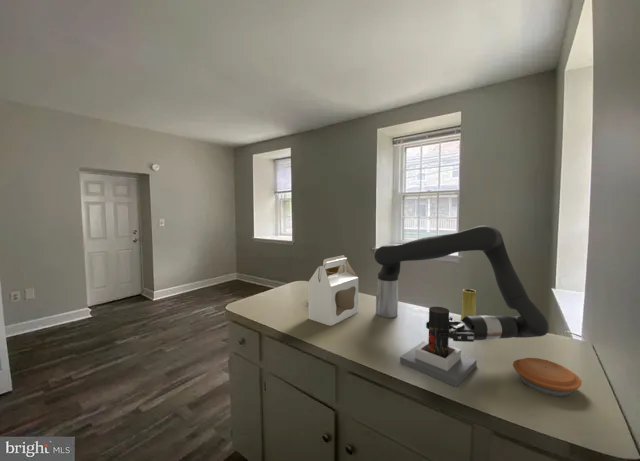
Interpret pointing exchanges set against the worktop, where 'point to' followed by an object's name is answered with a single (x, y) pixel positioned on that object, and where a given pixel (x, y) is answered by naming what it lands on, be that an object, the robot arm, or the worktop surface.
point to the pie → (547, 376)
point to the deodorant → (438, 322)
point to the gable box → (333, 292)
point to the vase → (468, 303)
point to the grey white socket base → (439, 363)
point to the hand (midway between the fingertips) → (431, 329)
